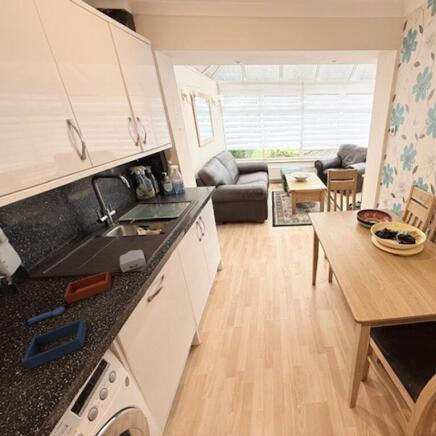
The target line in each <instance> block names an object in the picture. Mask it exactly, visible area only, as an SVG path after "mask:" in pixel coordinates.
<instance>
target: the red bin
mask: <svg viewBox="0 0 436 436" xmlns="http://www.w3.org/2000/svg"><path fill="white" fill-rule="evenodd" d="M100 281H105V283H102V284H99V285H96V286H93V287H90V288H87V289H84V290H81V291H78V292H76V290H78V289H81V288H84V287H87V286H90V285H93V284H96V283H98V282H100ZM111 284H112V276H111V273H110V271H109V270H106V271H104V272H100V273H97V274H94V275H90V276H88V277H85V278H81V279H78V280H76V281H72V282H69V283H68V285H67V287H66V291H65V294H64V296H63V297H64V299H65V301H66V303H67V304H68V305H69V304H72V303H74V302H78V301H80V300H83V299H86V298H89V297H91V296H94V295H95V296H96V295H97V294H101V293H104V292H106V291H110V290H111Z"/></svg>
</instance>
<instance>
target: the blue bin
mask: <svg viewBox="0 0 436 436" xmlns="http://www.w3.org/2000/svg"><path fill="white" fill-rule="evenodd" d="M87 328H88V326H87V324H86V322H85V320H84V319H83V318H81V319H78V320H77V321H73V322H71V323H68V324H66V325H63V326H60V327H57V328H55V329H53V330H50V331H47V332H44V333H41V334H40V335H37V336H34V337H32V339H31V340H30V342H29V343H30V344H29V346H28V347H27V350H26V353H25V355H24V357H23V360H22V364H23V365H24V366H25V367H26V368H27V370H31V369H35V368H37V367H39V366H41V365H44V364H46V363H49V362H50V361H53V360H56V359H58V358H60V357H63V356H65V355H68V354H69V353H72V352H75V351H77V350H79V349H82V348H84V344H85V338H86V334H87V330H88V329H87ZM74 333H76V337H75V339H73V340H70V341H68V342H65V343H63V344H59V345H58V346H55V347H53V348H50V349H48V350H45V351H43V352H40V353H39V350H40V348H41V346H44V345H46V344H49V343H51V342H54V341H56V340H58V339H62V338H64V337H67V336H68V335H71V334H74Z"/></svg>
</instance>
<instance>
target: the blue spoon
mask: <svg viewBox="0 0 436 436" xmlns="http://www.w3.org/2000/svg"><path fill="white" fill-rule="evenodd" d="M65 311H66V307H65V306H58V307H57V308H54V309H53V310H50V311H47V312H44V313H42V314H39V315H36V316H33V317H30V318H29V319H28V320H27V323H28V324H29V325H30V324H32V323H36V322H38V321H41V320H44V319H47V318H50V317H52V316H53V317H57V316H59V315H61V314H63V313H65Z"/></svg>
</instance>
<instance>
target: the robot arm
mask: <svg viewBox="0 0 436 436" xmlns="http://www.w3.org/2000/svg"><path fill="white" fill-rule="evenodd" d="M12 276H14V277H15V279H16V280H17V281H20V280H23V279H27V278H30V277H31V274H30V271H28V269H27V267H26V266H25V263H24V262H22V258H21V257H20V254H19V252H18V251H16V250H15V248H14V247H13V246H12V245H11V244H10V242H9V238H8V237H7V235H6V233H5V232H4V230H3V229H2V228H1V227H0V291H1V292H2V293H3V295H4V296H5V297H6V298H9V297H13V296H16V295H18V294H20V293H21V292H22V291H21V289H20V288H19V287H18V285H17V284H16V283H15V282H14V281H13V280H12ZM4 279H6V280H4Z"/></svg>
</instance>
